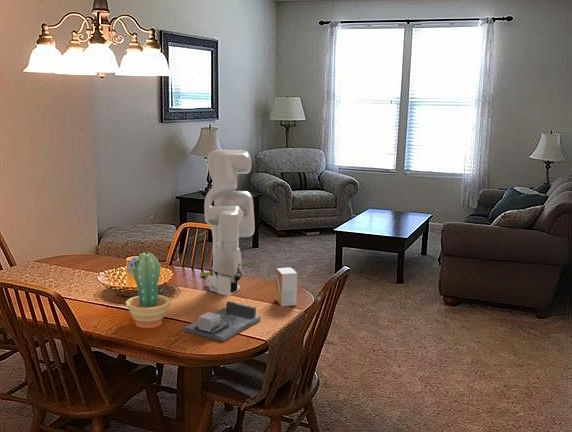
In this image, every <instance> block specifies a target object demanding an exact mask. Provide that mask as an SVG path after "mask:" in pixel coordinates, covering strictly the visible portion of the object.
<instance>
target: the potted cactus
mask: <svg viewBox="0 0 572 432" xmlns="http://www.w3.org/2000/svg"><path fill="white" fill-rule="evenodd" d="M127 272H128V274H129V275H130V276H131V275H132V274H133V275H132V276H133V280H134V282H135V284H136V289H137V295H136V296H132V297H130V298H128V299H127V300H126V301H125V305H126V307H127V310H129V312H130V314H131V316H132V318H133V320H134V321H135V325H136V327H138V328H141V329H142V328H143V329H149V328H150V329H151V328H153V329H154V328H157V327H160V326H161V325H162V323H163V322H162V319H163V318H164V317H165V315H166V313H167V312H168V308H170V306H171V303H172V301H171V299H170V298H169V297H168V296H164V295H161V294H158V284H159V280H160V277H161V263H160V262H159V260H158V258H157V257H156V256H155V255H154V254H153V253H151V252H147V253H146V252H142V253H139V255H138V256H134V257H132V258H131V260H130V262H129V264H128V266H127Z"/></svg>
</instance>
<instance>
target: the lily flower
mask: <svg viewBox="0 0 572 432" xmlns="http://www.w3.org/2000/svg"><path fill="white" fill-rule="evenodd" d="M207 270H208V271H207V272H202V273H200V274H201V275H200V276H199V278H200V277H201V278H202V277H204V280H206V279H207V276H212V277H213V270H212V269H211V267H209V268H208V267H207Z"/></svg>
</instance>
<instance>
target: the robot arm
mask: <svg viewBox="0 0 572 432" xmlns="http://www.w3.org/2000/svg"><path fill="white" fill-rule="evenodd" d="M206 158H207V159H206V160H207V169H208V172H209V177H210V178H211V180H212V182H213V186H212V187H211V188H210V189H209V190H208V192H207V193H206V196H205V199H204V205H203V206H204V207H203V208H204V209H203V210H204V221H205V223H206V224H207V225H209V226H211V234H212V249H213V251H212V253H213V254H212V262H213V263H212V266H210V268H211V269H212V272H213V276H207V279H205V282H209V283H210V284H209V285H208V290H209V291H211V292H212V293H215V294H218V293H217V287H218V275H220V274H225V275H229V276H231V278H232V283H231V293H233V292H235V291H237V292H238V291H239V290H240V289H241V287H240V285H239V284H238V289H237V281H238V282H239V281H240V280H241V279H242V278H244V277H245V276H246V274H245V272H244V270H243V268H242V266H243V265H242V254H241V253H242V252H241V248H240V247H239V239H240V238H250V237H252V236H253V235H254V233H255V229H256V227H255V224H256V223H255V211H254V199H253V198H254V197H253V194H251V193H250V192H249V191H246V190H237V187H238V175H237V174H239V175H240V174H242V175H243V174H245V175H247V174H249V173H251V170H252V159H251V155H250V153H249V151H248V150H243V149H216V150H214V149H213V150H211V151H210V152H209V153H208V154H207V157H206ZM213 202H214V203H213ZM212 204H214V205H212ZM211 269H210V270H211ZM238 274H239V275H238ZM235 293H236V292H235ZM233 294H234V293H233Z"/></svg>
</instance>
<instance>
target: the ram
mask: <svg viewBox="0 0 572 432" xmlns="http://www.w3.org/2000/svg"><path fill="white" fill-rule="evenodd" d="M198 320H199V327H198V329H200V330H204V331H207V332H211V331H213V330H215V329H217V328H218V327H220V320H221V316H220V315H219V314H215V313H214V312H210V311H207V312H205V313H204V314H202V315H199V316H198Z"/></svg>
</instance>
